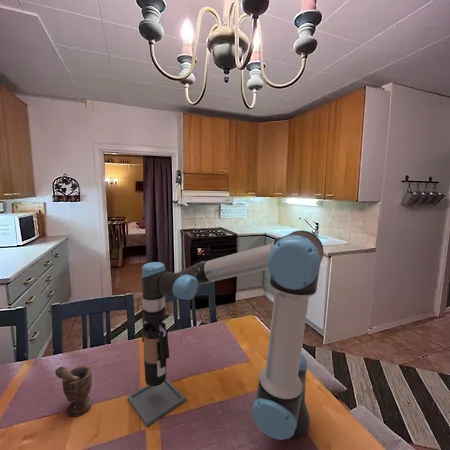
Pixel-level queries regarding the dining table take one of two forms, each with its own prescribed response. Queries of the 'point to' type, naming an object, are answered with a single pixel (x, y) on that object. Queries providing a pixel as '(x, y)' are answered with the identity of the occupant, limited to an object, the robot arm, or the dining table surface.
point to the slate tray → (155, 401)
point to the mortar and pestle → (76, 388)
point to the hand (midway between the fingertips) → (155, 368)
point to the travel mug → (152, 357)
